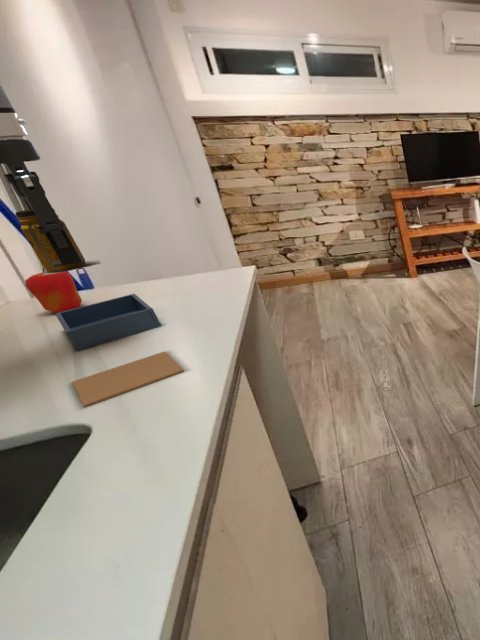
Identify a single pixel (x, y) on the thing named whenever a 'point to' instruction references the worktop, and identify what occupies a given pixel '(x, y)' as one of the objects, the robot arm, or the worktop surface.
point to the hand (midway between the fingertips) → (69, 261)
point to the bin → (107, 321)
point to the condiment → (48, 245)
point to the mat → (125, 378)
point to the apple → (54, 291)
